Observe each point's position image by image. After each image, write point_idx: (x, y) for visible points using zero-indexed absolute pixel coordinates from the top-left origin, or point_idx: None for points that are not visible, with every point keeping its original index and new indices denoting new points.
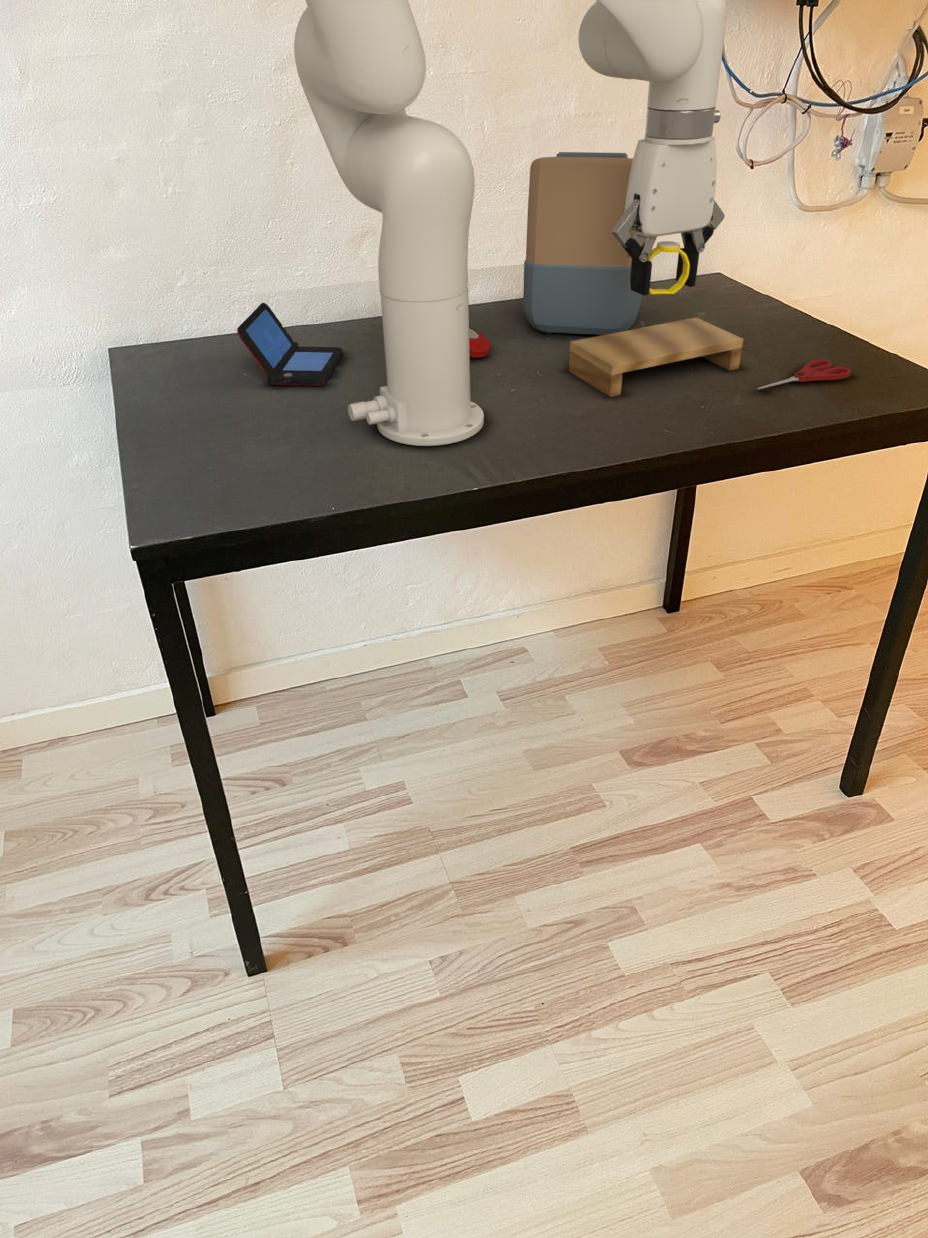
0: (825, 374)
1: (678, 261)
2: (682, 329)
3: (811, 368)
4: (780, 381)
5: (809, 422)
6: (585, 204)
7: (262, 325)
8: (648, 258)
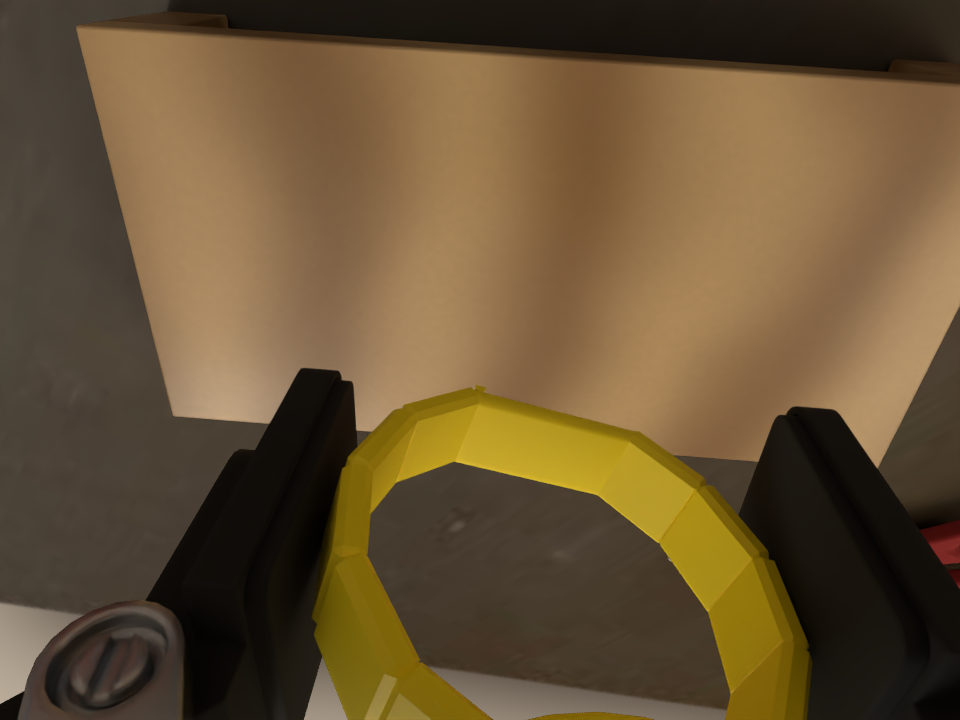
0: None
1: (846, 543)
2: (782, 231)
3: (942, 560)
4: None
5: (619, 680)
6: None
7: None
8: (337, 671)
